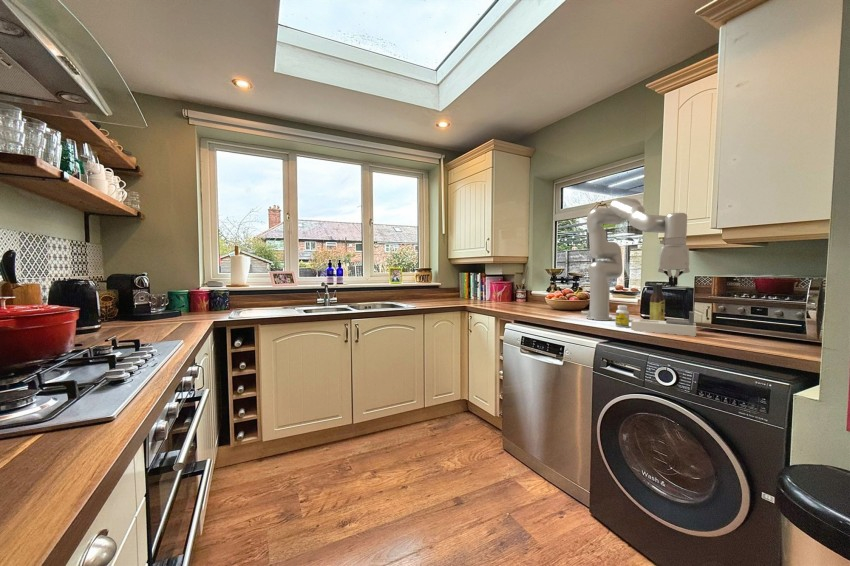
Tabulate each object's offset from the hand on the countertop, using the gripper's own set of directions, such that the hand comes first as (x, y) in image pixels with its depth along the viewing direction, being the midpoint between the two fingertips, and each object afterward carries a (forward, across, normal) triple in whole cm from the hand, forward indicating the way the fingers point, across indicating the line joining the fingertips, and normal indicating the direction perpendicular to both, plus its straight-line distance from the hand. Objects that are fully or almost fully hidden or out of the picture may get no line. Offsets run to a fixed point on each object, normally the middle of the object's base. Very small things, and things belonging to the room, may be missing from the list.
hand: (672, 286), depth 144 cm
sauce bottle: (+20, -7, +28) cm, 35 cm away
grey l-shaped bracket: (+15, +3, -1) cm, 15 cm away
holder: (+20, -3, 0) cm, 20 cm away
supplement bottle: (+20, -19, +4) cm, 28 cm away
